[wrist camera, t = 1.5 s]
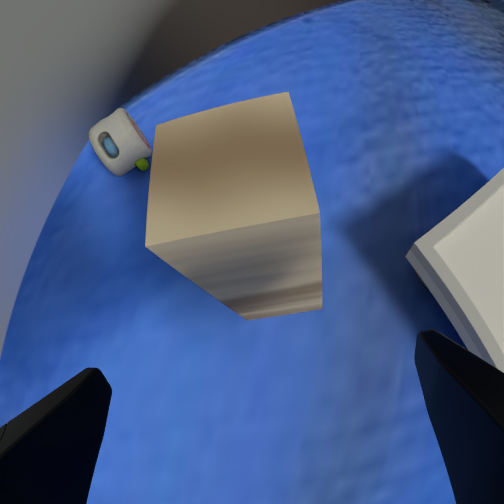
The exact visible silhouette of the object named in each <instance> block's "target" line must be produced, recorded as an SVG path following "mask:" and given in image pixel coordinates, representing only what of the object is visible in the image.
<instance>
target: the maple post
mask: <svg viewBox="0 0 504 504" xmlns="http://www.w3.org/2000/svg"><path fill="white" fill-rule="evenodd" d="M145 247H147V248H148V249H149V250H150V251H152V252H153V253H154V254H156V255H157V256H158V257H160V258H161V259H162V260H164V261H165V262H166V263H168V264H169V265H170V266H172V267H173V268H174V269H176V270H177V271H178V272H180V273H181V274H183V275H184V276H185V277H187V278H188V279H189V280H191V281H192V282H193V283H195V284H196V285H198V286H199V287H200V288H202V289H203V290H205V291H206V292H207V293H209V294H210V295H212V296H213V297H214V298H216V299H217V300H219V301H220V302H221V303H223V304H224V305H226V306H227V307H229V308H230V309H231V310H233V311H234V312H236V313H237V314H239V315H240V316H242V317H243V318H244V319H246V320H252V319H259V318H266V317H273V316H280V315H287V314H293V313H300V312H306V311H312V310H318V309H322V256H321V228H320V212H319V207H318V203H317V198H316V194H315V190H314V186H313V182H312V177H311V173H310V169H309V165H308V161H307V157H306V154H305V150H304V146H303V142H302V138H301V135H300V131H299V127H298V124H297V120H296V117H295V113H294V109H293V106H292V103H291V99H290V96H289V92H285V93H279V94H274V95H269V96H264V97H259V98H254V99H250V100H245V101H241V102H237V103H232V104H228V105H224V106H220V107H217V108H213V109H209V110H205V111H202V112H198V113H195V114H191V115H188V116H184V117H181V118H178V119H174V120H171V121H168V122H165V123H162V124H159V125H156V130H155V138H154V146H153V154H152V163H151V173H150V183H149V195H148V208H147V223H146V242H145Z"/></svg>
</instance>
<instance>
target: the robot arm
mask: <svg viewBox="0 0 504 504" xmlns="http://www.w3.org/2000/svg"><path fill="white" fill-rule="evenodd" d="M415 365H416V368H417V372H418V376H419V380H420V383H421V387H422V391H423V395H424V399H425V404H426V408H427V411H428V415H429V418H430V421H431V423H432V426H433V429H434V432H435V435H436V438H437V441H438V444H439V447H440V450H441V453H442V456H443V459H444V462H445V465H446V469H447V472H448V475H449V479H450V482H451V486H452V489H453V493H454V497H455V500H456V504H504V372H502V371H501V370H499V369H497V368H496V367H494V366H493V365H491V364H489V363H488V362H486V361H485V360H483V359H481V358H480V357H478V356H477V355H475V354H473V353H472V352H470V351H469V350H467V349H465V348H464V347H462V346H460V345H459V344H457V343H456V342H454V341H452V340H451V339H449V338H447V337H446V336H444V335H442V334H441V333H439V332H438V331H436V330H434V329H429V330H425V331H421V332H419V333H418V335H417V340H416V348H415ZM111 396H112V388H111V386H110V384H109V383H108V381H107V380H106V378H105V377H104V375H103V373H102V372H101V370H99V369H98V368H86V369H84V370H83V371H81V372H80V373H78V374H77V375H76V376H74V377H73V378H71V379H70V380H68V381H67V382H65V383H64V384H63V385H61V386H60V387H58V388H57V389H55V390H54V391H53V392H51V393H50V394H48V395H47V396H45V397H44V398H42V399H41V400H40V401H38V402H37V403H35V404H34V405H32V406H31V407H29V408H28V409H27V410H25V411H24V412H22V413H21V414H19V415H18V416H17V417H15V418H14V419H12V420H11V421H9V422H8V424H5V425H3V426H2V427H1V428H0V504H86V503H87V498H88V494H89V489H90V485H91V481H92V477H93V473H94V469H95V465H96V462H97V458H98V454H99V450H100V447H101V443H102V440H103V436H104V431H105V426H106V421H107V416H108V410H109V405H110V400H111Z"/></svg>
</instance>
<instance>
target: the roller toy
mask: <svg viewBox="0 0 504 504" xmlns="http://www.w3.org/2000/svg"><path fill="white" fill-rule="evenodd" d="M89 139H90V142H91V144H92V146H93V148H94V150H95V152H96V154H97V155H98V157H99V158H100V160H101V161H102V162H103V164H104V165H105V166H106V167H107V168H108V169H109V170H110V171H111V172H112V173H113V174H115V175H117V176H123V175H125V174H126V173H127V172H129V171H130V170H132V169H133V168H135V167H136V166H137V167H138V168H139V169H140V170H142V171H146V170H147V169H148V168H149V163H148V160H147V158H149V157H150V156H151V153H152V150H151V147H150V145H149V143H148V141H147V140H146V138H145V136H144V135H143V133H142V132H141V130H140V129H139V127H138V126H137V124H136V123H135V121H134V120H133V118H132V117H131V116H130V115H129V113H128V112H127V111H126V110H125V109H123V108H119V109H117V110H116V111H115V112H114V113H113V114H111V115H110V116H108V117H107V118H104V119H102V120H101V121H100V122H98V123H97V124H96V125H95V126H93V127H92V128H91V130H90V131H89Z"/></svg>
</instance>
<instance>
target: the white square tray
mask: <svg viewBox="0 0 504 504" xmlns="http://www.w3.org/2000/svg"><path fill="white" fill-rule="evenodd" d="M405 257H406V258H407V260H408V261H409V262H410V264H411V265H412V266H413V268H414V269H415V271H416V275H417V276H418V278H419V279H420V281H421V282H422V283H423V285H424V286H425V288H427V287H428V289H429V290H430V292H431V293H432V294H433V296H434V297H435V299H436V300H437V302H438V303H439V305H440V306H441V308H442V309H443V311H444V312H445V314H446V315H447V317H448V318H449V320H450V321H451V323H452V324H453V326H454V328H455V329H456V331H457V332H458V334H459V336H460V337H461V339H462V340H463V342H464V344H465V345H466V347H467V349H468V350H469V351H470V352H472V353H473V354H475V355H477V356H478V357H480V358H481V359H483V360H485V361H486V362H488V363H489V364H491V365H493V366H494V367H496V368H497V369H499V370H501V371H502V372H504V168H503V169H502V170H501V171H500V172H499V173H498V174H496V175H495V176H494V177H493V178H492V179H491V180H490V181H489V182H488V183H486V184H485V185H484V186H483V187H482V188H481V189H480V190H478V191H477V192H476V193H475V194H474V195H473V196H471V197H470V198H469V199H468V200H467V201H466V202H464V203H463V204H462V205H461V206H460V207H458V208H457V209H456V210H455V211H454V212H452V213H451V214H450V215H449V216H447V217H446V218H445V219H444V220H443V221H441V222H440V223H439V224H438V225H436V226H435V227H434V228H432V229H431V230H430V231H429V232H427V233H426V234H425V235H424V236H422V237H421V238H420V239H418V240H417V241H416V242H414V244H413V245H412V247H411V249H410V250H409V252H408V253H407V255H406V256H405Z"/></svg>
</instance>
